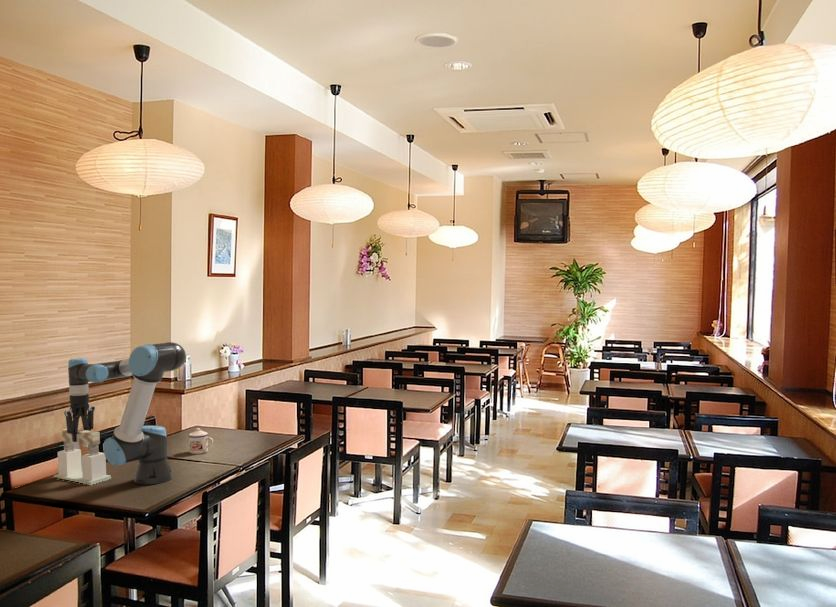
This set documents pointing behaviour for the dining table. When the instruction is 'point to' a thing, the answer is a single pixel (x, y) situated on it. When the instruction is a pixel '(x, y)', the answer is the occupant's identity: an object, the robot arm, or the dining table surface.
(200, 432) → the teacup with lid
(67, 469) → the twin white pillars base
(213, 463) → the dining table surface
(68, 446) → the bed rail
